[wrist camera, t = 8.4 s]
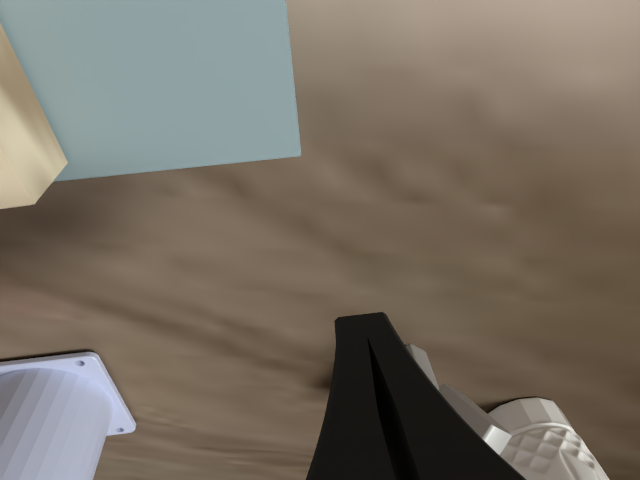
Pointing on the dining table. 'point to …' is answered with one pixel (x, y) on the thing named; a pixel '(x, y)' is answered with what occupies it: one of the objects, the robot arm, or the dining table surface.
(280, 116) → the blue-grey block
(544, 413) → the white cup
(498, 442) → the lighter
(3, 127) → the folding leg
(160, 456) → the dining table surface
